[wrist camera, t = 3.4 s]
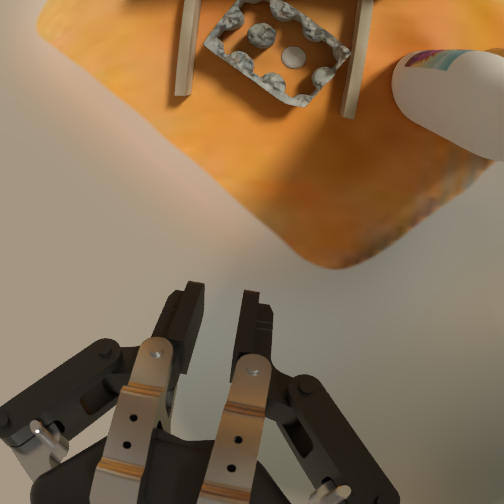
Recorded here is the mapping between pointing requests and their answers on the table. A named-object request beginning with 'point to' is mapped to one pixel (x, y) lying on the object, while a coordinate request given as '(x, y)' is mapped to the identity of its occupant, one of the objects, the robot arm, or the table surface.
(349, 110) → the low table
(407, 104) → the milk bottle
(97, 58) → the table surface
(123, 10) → the table surface
